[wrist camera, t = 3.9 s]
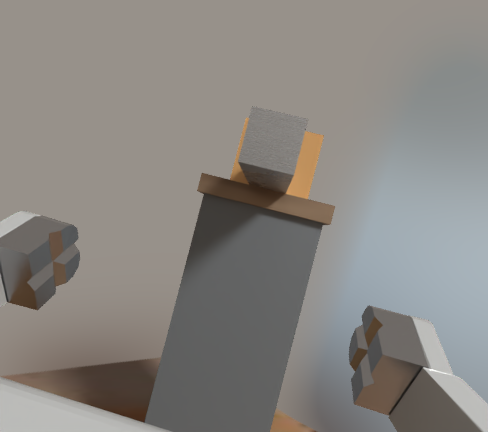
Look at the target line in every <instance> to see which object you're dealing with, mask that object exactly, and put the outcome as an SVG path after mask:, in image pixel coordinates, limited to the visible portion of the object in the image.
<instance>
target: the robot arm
mask: <svg viewBox="0 0 488 432" xmlns="http://www.w3.org/2000/svg"><path fill="white" fill-rule="evenodd" d="M77 239H78V232H77V228H76V227H75V226H74V225H72V224H68V223H65V222H61V221H58V220H55V219H51V218H48V217H45V216H40V215H37V214H34V213H30V212H27V211H19V212H17V213H15V214H13V215H11V216H10V217H8V218H6V219H4V220H2V221H1V222H0V307H1V306H3V305H6V304H7V302H9V303H12V304H16V305H20V306H24V307H28V308H31V309H35V310H39V308H41V306H43V305H44V304H45V303H46V302H47V301H48V300H49V299H50V298H51V297H52V296H53V295H54V294H55V292H56V286H59V285H61V284H64V283H67V282H68V281H69V280H70V279H71V278H72V277H73V275H74V274H75V272H76V270H77V268H78V266H79V261H80V253H79V250H78V249H77V247H76V246H75V244H74V243H75V242H76V241H77ZM362 321H363V325H361V326H359V327H358V328H356V329H355V331H354V333H353V336H352V338H351V343H350V347H349V361H350V365H351V366H352V368H353V369H354V371H355V373H354V375H353V377H352V379H351V382H352V391H353V400H354V404H355V405H358V406H361V407H364V408H367V409H370V410H373V411H377V412H379V413H383V414H386V415H389V419H390V420H391V422H392V423H393V425H394V427H395V429H396V430H397V432H488V404H487V403H486V402H485V401H484V400H483V399H482V398H481V397H480V396H479V395H478V394H477V393H476V392H475V391H474V390H473V389H471V387H470V386H469V385H468V384H467V383H466V382H465V381H464V380H462V378H460V377H456V376H454V374H453V372H452V369H451V368H450V365H449V362H448V360H447V357H446V355H445V353H444V351H443V348H442V346H441V343H440V341H439V338H438V336H437V333H436V331H435V329H434V326H433V324H432V323H431V322H430V321H429V320H425V319H421V318H416V317H413V316H406V315H403V314H399V313H395V312H391V311H387V310H384V309H380V308H376V307H373V306H368V307H367V308H366V309H365V311H364V313H363V315H362ZM0 432H172V431H168V430H165V429H162V428H159V427H156V426H153V425H150V424H146V423H143V422H140V421H137V420H134V419H131V418H128V417H124V416H121V415H118V414H115V413H112V412H109V411H106V410H102V409H99V408H96V407H93V406H90V405H87V404H84V403H80V402H77V401H74V400H71V399H68V398H65V397H62V396H59V395H55V394H52V393H49V392H46V391H43V390H40V389H37V388H33V387H30V386H27V385H24V384H21V383H18V382H15V381H12V380H8V379H5V378H2V377H0Z"/></svg>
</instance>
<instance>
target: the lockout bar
mask: <svg viewBox="0 0 488 432" xmlns="http://www.w3.org/2000/svg"><path fill="white" fill-rule="evenodd" d="M307 122H308V119H306V118H301V117H297V116H293V115H288V114H283V113H280V112H275V111H271V110H267V109H262V108H258V107H253V106H252V109H251V113H250V117H249V118H246V120H245V125H244V128H243V132H242V136H241V140H240V144H239V148H238V151H237V155H236V159H235V163H234V167H233V170H232V174H231V178H230V180H232V181H236V182H240V183H244V184H248V185H252V186H256V187H260V188H264V189H268V190H272V191H276V192H280V193H284V194H288V195H292V196H296V197H301V198H305V199H308V196H309V192H310V188H311V184H312V180H313V176H314V172H315V168H316V164H317V161H318V156H319V153H320V149H321V145H322V141H323V137H324V135H319V134H315V133H311V132H306V131H305V130H306V126H307Z"/></svg>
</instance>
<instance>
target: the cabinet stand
mask: <svg viewBox="0 0 488 432" xmlns="http://www.w3.org/2000/svg"><path fill="white" fill-rule="evenodd" d="M197 191H199V192H201V193H203V194H204V196H203V200H202V204H201V208H200V211H199V215H198V219H197V223H196V227H195V231H194V235H193V238H192V242H191V246H190V250H189V254H188V257H187V261H186V265H185V269H184V273H183V277H182V280H181V284H180V288H179V292H178V296H177V300H176V304H175V307H174V311H173V315H172V319H171V323H170V327H169V330H168V334H167V338H166V342H165V346H164V350H163V353H162V357H161V361H160V365H159V369H158V372H157V376H156V380H155V384H154V388H153V392H152V395H151V399H150V403H149V407H148V411H147V414H146V418H145V422H144V423H146V424H150V425H153V426H156V427H159V428H162V429H165V430H168V431H172V432H270V429H271V425H272V421H273V417H274V413H275V410H276V406H277V401H278V398H279V394H280V390H281V386H282V382H283V378H284V374H285V370H286V367H287V362H288V358H289V355H290V351H291V347H292V343H293V339H294V335H295V331H296V327H297V323H298V319H299V316H300V312H301V307H302V304H303V300H304V296H305V292H306V288H307V284H308V280H309V276H310V272H311V268H312V265H313V261H314V257H315V253H316V249H317V245H318V241H319V237H320V233H321V230H322V225H330V224H331V220H332V216H333V212H334V209H335V206H332V205H329V204H325V203H321V202H316V201H312V200H308V199H305V198H301V197H296V196H292V195H288V194H284V193H280V192H276V191H272V190H268V189H264V188H260V187H256V186H252V185H248V184H244V183H240V182H236V181H232V180H228V179H224V178H220V177H216V176H212V175H208V174H204V173H202V175H201V179H200V182H199V186H198V190H197Z"/></svg>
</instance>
